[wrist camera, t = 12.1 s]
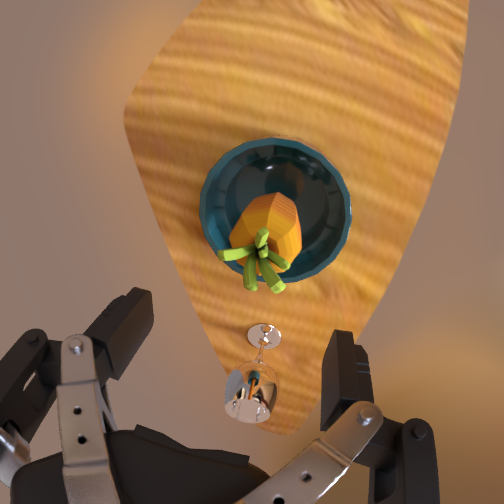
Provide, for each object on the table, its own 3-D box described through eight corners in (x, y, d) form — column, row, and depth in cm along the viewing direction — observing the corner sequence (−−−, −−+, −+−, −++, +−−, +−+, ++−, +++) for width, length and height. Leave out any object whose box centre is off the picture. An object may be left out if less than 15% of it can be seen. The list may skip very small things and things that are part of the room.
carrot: (243, 195, 29) (189, 266, 16) (284, 166, 27) (261, 216, 14) (273, 233, 30) (245, 328, 17) (313, 208, 29) (318, 291, 15)
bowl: (221, 127, 27) (204, 129, 23) (356, 149, 26) (366, 155, 21) (211, 247, 33) (196, 269, 29) (328, 269, 32) (331, 294, 27)
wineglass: (292, 327, 36) (283, 405, 25) (278, 357, 39) (265, 430, 28) (248, 313, 36) (225, 388, 25) (237, 344, 39) (215, 415, 28)
